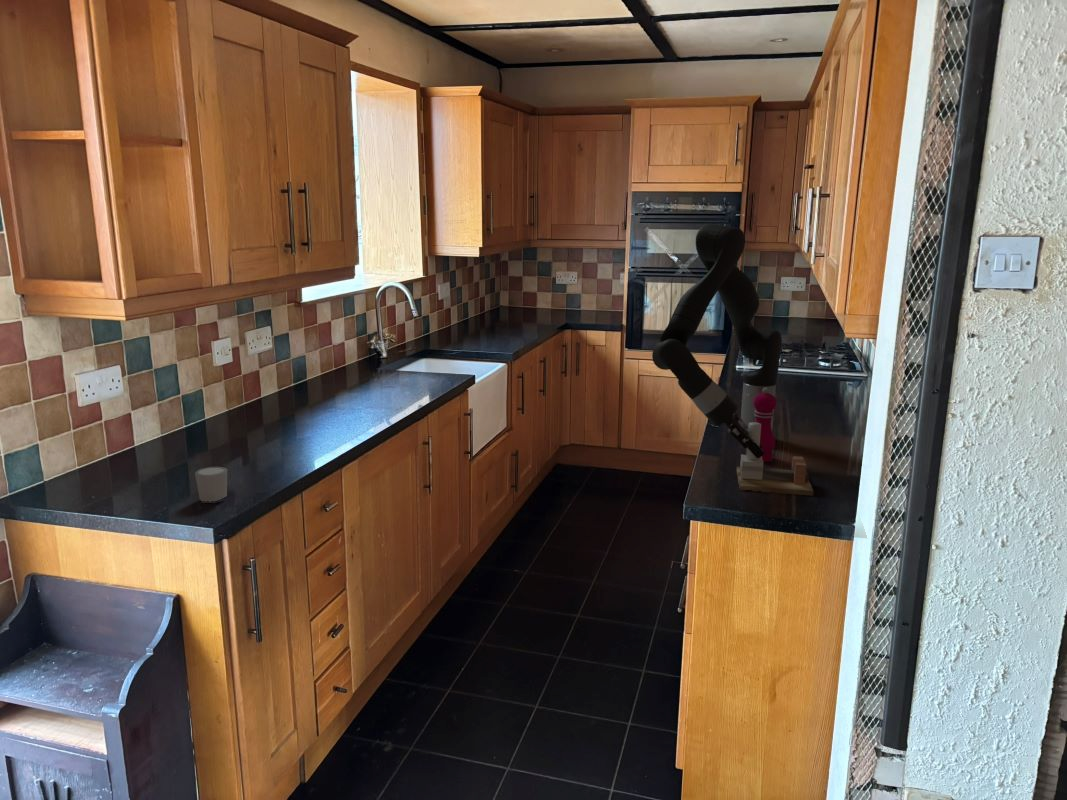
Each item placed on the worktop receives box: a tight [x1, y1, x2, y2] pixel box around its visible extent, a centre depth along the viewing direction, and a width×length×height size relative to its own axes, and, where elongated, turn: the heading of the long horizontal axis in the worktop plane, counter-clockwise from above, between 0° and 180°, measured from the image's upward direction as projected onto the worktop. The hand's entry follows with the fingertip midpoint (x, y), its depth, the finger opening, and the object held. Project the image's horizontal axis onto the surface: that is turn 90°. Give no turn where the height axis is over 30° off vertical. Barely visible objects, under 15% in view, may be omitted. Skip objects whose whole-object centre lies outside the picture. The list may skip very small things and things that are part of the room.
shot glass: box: [194, 466, 228, 502], centre depth 178 cm, size 7×7×7 cm
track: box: [736, 455, 814, 496], centre depth 195 cm, size 15×17×6 cm
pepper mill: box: [753, 388, 777, 463], centre depth 213 cm, size 7×7×20 cm
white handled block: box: [739, 422, 764, 480], centre depth 195 cm, size 6×5×13 cm
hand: (760, 452), depth 194 cm, fingers open, 5 cm apart
